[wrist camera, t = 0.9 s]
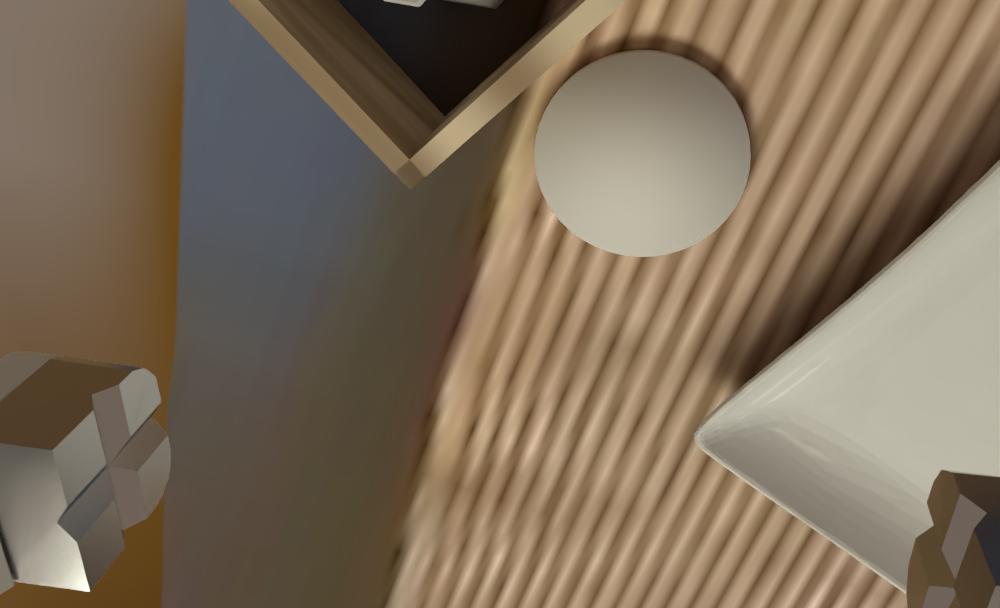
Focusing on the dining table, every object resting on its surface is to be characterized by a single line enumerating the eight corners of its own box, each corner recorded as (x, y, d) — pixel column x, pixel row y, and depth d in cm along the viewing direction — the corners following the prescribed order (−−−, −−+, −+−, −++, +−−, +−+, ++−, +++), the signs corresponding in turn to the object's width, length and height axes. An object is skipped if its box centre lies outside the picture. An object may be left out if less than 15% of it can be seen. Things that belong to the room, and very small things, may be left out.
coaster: (657, 1, 40) (656, 4, 40) (795, 170, 43) (796, 175, 42) (494, 142, 45) (491, 146, 44) (626, 287, 47) (625, 292, 47)
